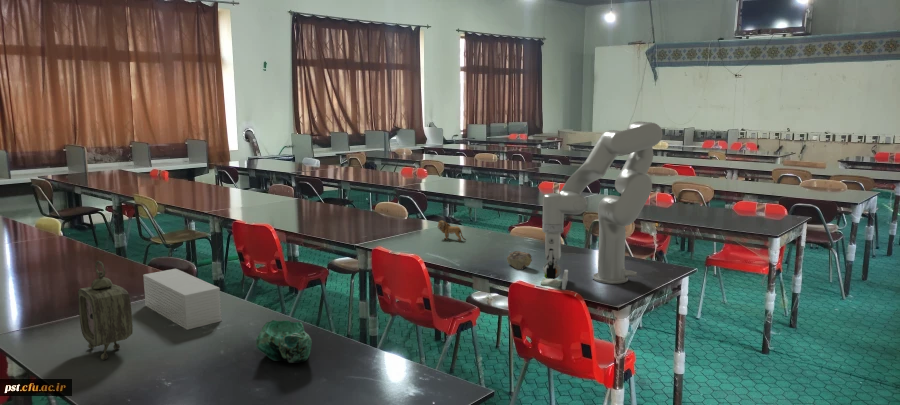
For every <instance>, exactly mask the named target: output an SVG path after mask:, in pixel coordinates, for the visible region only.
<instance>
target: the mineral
mask: <svg viewBox="0 0 900 405" xmlns="http://www.w3.org/2000/svg"><path fill="white" fill-rule="evenodd" d="M312 341H313V340H312V338H311V336H310V334H309V333H307V332H306V331H305V327H304V324H303V322H301V321H300V322H299V321H297V322H295V321H294V322H292V321H291V320H287V319H286V320H276V319H272V320H270V321H266V323H265V324H264V325H263V327H261V330H260V331H259V334H258V336H257V337H256V339H255V348H257V350H258V351H259V352H260V353H262V354H264V355H265V356H267V357H268V358H269V359H270V360H272V361H274V362H279V361H280V362H281V361H283V362H288V363H289V364H292V363H293V364H295V363H296V364H297V363H298V364H299V363H303V362H306V361H307V360H308V358H309V356H310V354H311V352H312V344H313V342H312Z"/></svg>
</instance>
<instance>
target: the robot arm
mask: <svg viewBox="0 0 900 405" xmlns="http://www.w3.org/2000/svg"><path fill="white" fill-rule="evenodd" d="M663 134H664V133H663V129H662V127H661V126H660V125H658V123H655V122H650V121H649V122H647V121H633V122H631V123H630V124H629V125H628V126H627V128H626V129H624V130H616V129H611V130H610V129H608V130H607V131H604V132H603V133H602V134H601V136H600V137H599V138H598V140H597V142H596V143H595V145H594V147H593V148H592V150H591V151H590V152H589V155H588V156H587V158H586V160H584V163H582V165H581V166H579V168H577V169H576V170H575V172H573V173H572V174H571V175H570V176H569V178H568V179H567V180H566V181H565V183H564V185H563V187H562V188H561V190H560V192H559V193H554V192H553V193H552V192H551V193H546V194H543V196H542V224H541V225H542V228H541V229H542V230H541V232H542V233H544V234H545V236H544V238H545V239H544V240H545V242H544V243H545V245H544V246H545V248H544V250H545V251H544V252H545V253H544V255H545V260H547V262H546V263H547V278H546V279H557V278H556V268H555V263H556V264H557V265H558V261H560V259H561V256H562V245H561V244H562V238H561V237H562V236H561V234H562V233H563V234H564V224H565V223H564V220H565V219H564V218H565V216H564V215H565V214H566V215H581V214H583V213H584V212H586V210H587V208H588V201H587V198H586V197H585V196H584V195H582V193H583V191H584V190H585V189H586V188H587V187H588V186H589V185H590V184H592V183H594V182H595V181H597V180H599V179H601V178H603V177H604V176H606V174H607V172H608V170H609V168H610V167H611V165H612V164H613V162H614V161H615V159H616V158H617V157H618V156H625V155H628V157H627V159H626V161H625V163H624V165H623V167H622V168H621V170H620V172H619V174H618V175H617V177H616V179H615V181H614V187H615V190H616V191H617V193H619V194H620V196H618V195H613V194H612V195H610V194H609V195H606V196H604V197H603V198H602V199H601V200H600V201H599V203H598V206H597V214H598V215H597V218H598V229H599V230H598V253H597V256H598V257H597V273H595V274H593V280H595V281H596V282H599V283H603V284H611V285H612V284H613V285H617V284H624V283H627V282H628V281H629V277H632V278H638V277H637V275H638V274H637V273H638V272H637V271H633V270H627V269H626V266H625V255H626V238H627V237H626V236H627V234H626V233H627V232H626V227H628V226H630V225H632V223H634V222H635V221H636V219H638V217H639V216H640V213H641V212H642V211H643V208H644V206H645V205H646V203H647V201H648V199H649V197H650V196H651V192H652V190H653V181H652V179H651V177H650V176H649V175H647V174H648V172H649V169H650V167H651V165H652V163H653V159H654V148H653V147H655V146H657V145H658V144H659V143H661V141H662V139H663ZM553 262H554V263H553Z"/></svg>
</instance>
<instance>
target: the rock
mask: <svg viewBox="0 0 900 405" xmlns="http://www.w3.org/2000/svg"><path fill="white" fill-rule="evenodd" d="M506 261H507V263H508V264H509V265H510V266H511V267H513V268H514V269H515V270H518V271H519V270H524V269H525V268H526V267H529V266H530V265H531V263H532V262H533V259H532V255H531V254H530V252H525V251H519V250H514V251H513V252H510V253H509V255H508V256H507V257H506Z"/></svg>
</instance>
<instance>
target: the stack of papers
mask: <svg viewBox="0 0 900 405" xmlns="http://www.w3.org/2000/svg"><path fill="white" fill-rule="evenodd" d="M142 276H143V278H142V279H143V288H144V300H145V301H144V303H145V307H147V308H149V309H151V310H153V311H154V312H156V313H157V314H159V315H161V316H162V317H164V318H166V319H168V320H170V321H172V322H173V323H174V324H177V325H178V326H180V327H181V328H183V329H186V330H191V329H195V328H199V327H203V326H208V325H211V324H215V323H218V322H222V307H221V306H222V305H221V288H220V287H219V286H217V285H214V284H212V283H209V282H207V281H205V280H203V279H201V278H198V277H196V276H193V275H192V274H189V273H187V272H185V271H183V270H180V269H178V268H172V269H166V270H160V271H157V272H156V271H155V272H150V273H145V274H143V275H142Z"/></svg>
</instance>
